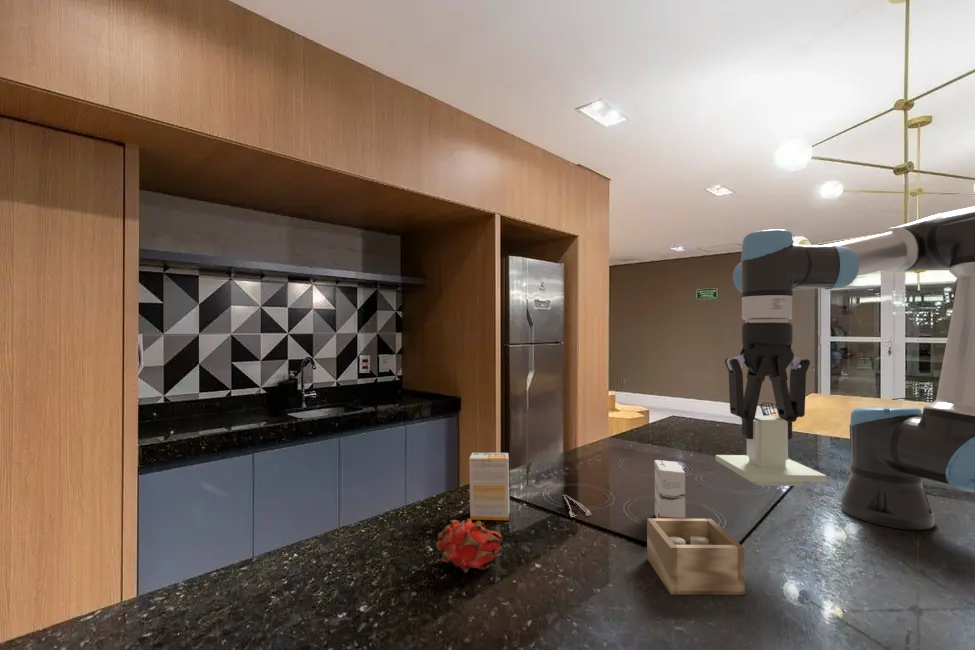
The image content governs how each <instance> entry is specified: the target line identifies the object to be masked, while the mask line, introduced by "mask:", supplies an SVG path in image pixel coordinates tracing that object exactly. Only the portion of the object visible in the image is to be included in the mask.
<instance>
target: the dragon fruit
mask: <svg viewBox="0 0 975 650" xmlns="http://www.w3.org/2000/svg"><path fill="white" fill-rule="evenodd" d="M472 521H473V520H471V518H467V519H465V520H464V519H463V520H462V521H460V520H457V519H452V520H450V523H449V524H448V525H445V526H444V527H443V528H444V529H442V530H441V532H438V534H437V541H435V542H434V544H435V546H436V548H437V549H438V550H439V551H443V554H442V553H441V552H440V553H439V555H438V559H439V560H440V561H441V562H445V563H448V562H450V561H451V562H452V565H453V567H454V566H455V567H456V568H458V567H459V568H460V570H462V571H463V573H464V574H466V573H468V572H469V570H470V568H471V569H479V570H481V571H484V570H487V569H488V568H490V567H492V566H493V563H491V562H490V561H492V560H494V559H495V557H496V556H498V555H499V552H500V551H501V550H502V549H503V547H504V545H505V544H506V540H505V539H504V537H503V535H502V534H501V533H500V532H499V531H495V530H491V529H487V528H486V526H485V523H484V522H481V520H476V522H474V523H473V522H472ZM502 540H503V541H502ZM488 562H490V563H488ZM455 567H454V568H455ZM456 568H455V569H456ZM486 568H487V569H486Z"/></svg>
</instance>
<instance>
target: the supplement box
mask: <svg viewBox="0 0 975 650" xmlns="http://www.w3.org/2000/svg"><path fill="white" fill-rule="evenodd" d="M468 459H469V512H470V513H469V516H470V517H469V519H471V521H475V520H476V521H481V520H483V521H507V522H508V521H509V518H510V466H509V465H510V463H509V461H510V460H509V459H510V458H509V452H472V453H471V454H470V456H469V458H468Z"/></svg>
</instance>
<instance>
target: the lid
mask: <svg viewBox="0 0 975 650" xmlns="http://www.w3.org/2000/svg"><path fill="white" fill-rule="evenodd" d="M754 420H757V421H759V442H760V460H754V459H752V458H750V457H748V456H747V454H738V455H737V454H715V462H718V464H721V465H723V466H724V467H726V468H727V469H729V470H731V471H732V472H733V473H736V475H739V476H741V477H742V478H744V479H745V480H747V481H748V482H751V483H752V484H754V485H755V486H756V487H757V486H758V487H759V486H763V487H764V486H766V487H767V486H770V487H771V486H772V487H773V486H777V487H780V486H781V487H788V486H791V487H794V486H795V487H803V486H804V482H807V483H810V482H811V483H814V482H815V483H816V482H819V483H827V480H828V479H827V478H828V477H827V475H826V474H824V473H822V472H820V471H818V470H815V469H812V468H811V467H808V466H806V465H804V464H802V463H800V462H797V461H795V460H792V459H791V458H788V460H786V420H784V419H780V417H777V416H775V415H755V419H754Z"/></svg>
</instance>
